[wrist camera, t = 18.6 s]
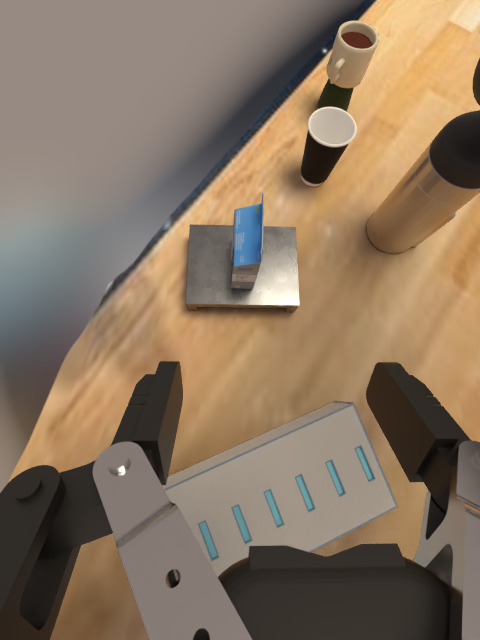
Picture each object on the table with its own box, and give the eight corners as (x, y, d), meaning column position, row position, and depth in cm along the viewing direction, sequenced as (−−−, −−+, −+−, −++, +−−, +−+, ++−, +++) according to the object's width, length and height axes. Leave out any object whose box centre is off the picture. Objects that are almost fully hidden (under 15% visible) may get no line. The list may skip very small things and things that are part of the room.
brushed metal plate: (290, 239, 52) (295, 227, 48) (293, 312, 49) (299, 305, 45) (192, 237, 51) (189, 224, 47) (189, 310, 48) (185, 303, 44)
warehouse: (189, 587, 39) (179, 633, 31) (156, 480, 42) (140, 500, 34) (376, 492, 43) (407, 513, 35) (333, 400, 46) (353, 402, 38)
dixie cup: (339, 187, 55) (365, 138, 44) (302, 198, 54) (319, 151, 44) (323, 155, 57) (344, 101, 46) (287, 165, 56) (300, 112, 45)
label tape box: (231, 239, 47) (232, 188, 35) (256, 240, 47) (265, 189, 35) (230, 289, 45) (230, 252, 33) (255, 289, 45) (265, 253, 33)
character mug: (331, 86, 61) (358, 8, 49) (358, 103, 61) (392, 28, 48) (303, 116, 59) (323, 41, 47) (330, 134, 58) (358, 63, 46)
